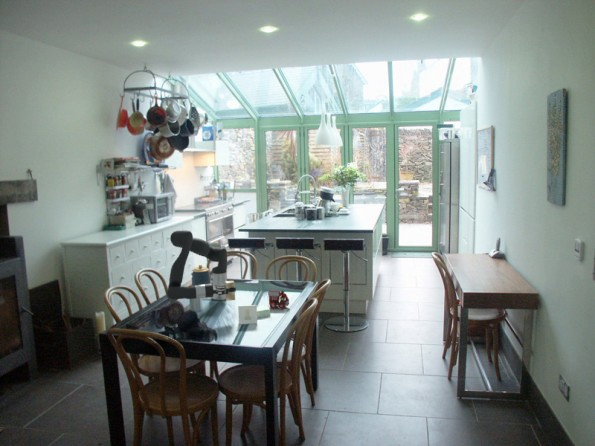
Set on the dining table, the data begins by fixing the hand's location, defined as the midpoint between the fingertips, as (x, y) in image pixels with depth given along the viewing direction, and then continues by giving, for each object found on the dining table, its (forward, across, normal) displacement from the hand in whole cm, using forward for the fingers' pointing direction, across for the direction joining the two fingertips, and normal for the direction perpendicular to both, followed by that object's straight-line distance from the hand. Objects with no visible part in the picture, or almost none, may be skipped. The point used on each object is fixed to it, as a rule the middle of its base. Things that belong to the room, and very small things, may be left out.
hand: (234, 288), depth 277 cm
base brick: (+15, +2, +18) cm, 23 cm away
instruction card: (+5, -11, +17) cm, 21 cm away
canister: (-12, +68, +18) cm, 72 cm away
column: (-3, 0, +6) cm, 7 cm away
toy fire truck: (+28, +11, +18) cm, 35 cm away
